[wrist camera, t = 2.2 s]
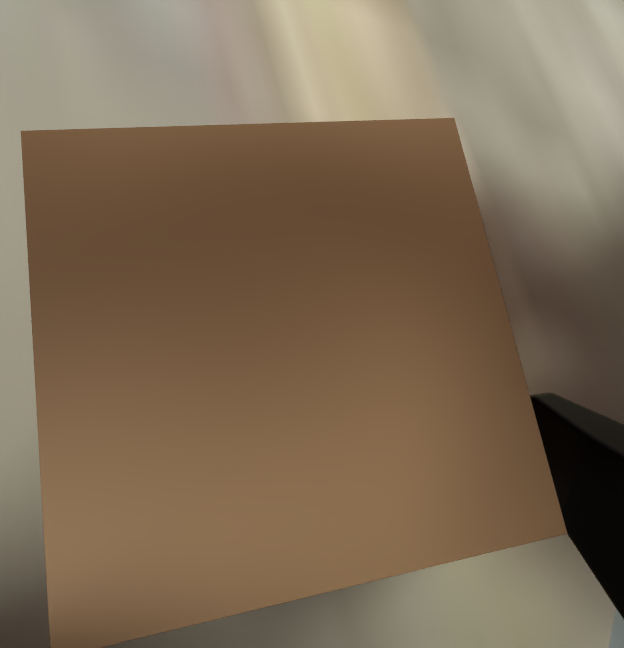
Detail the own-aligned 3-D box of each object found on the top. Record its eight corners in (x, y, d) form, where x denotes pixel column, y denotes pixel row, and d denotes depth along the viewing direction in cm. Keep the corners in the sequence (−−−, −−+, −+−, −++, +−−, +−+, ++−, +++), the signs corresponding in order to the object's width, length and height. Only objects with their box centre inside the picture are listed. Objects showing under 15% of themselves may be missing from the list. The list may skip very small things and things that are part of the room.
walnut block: (327, 500, 18) (567, 533, 6) (149, 536, 16) (51, 658, 5) (298, 335, 19) (454, 118, 8) (131, 356, 18) (20, 130, 6)
